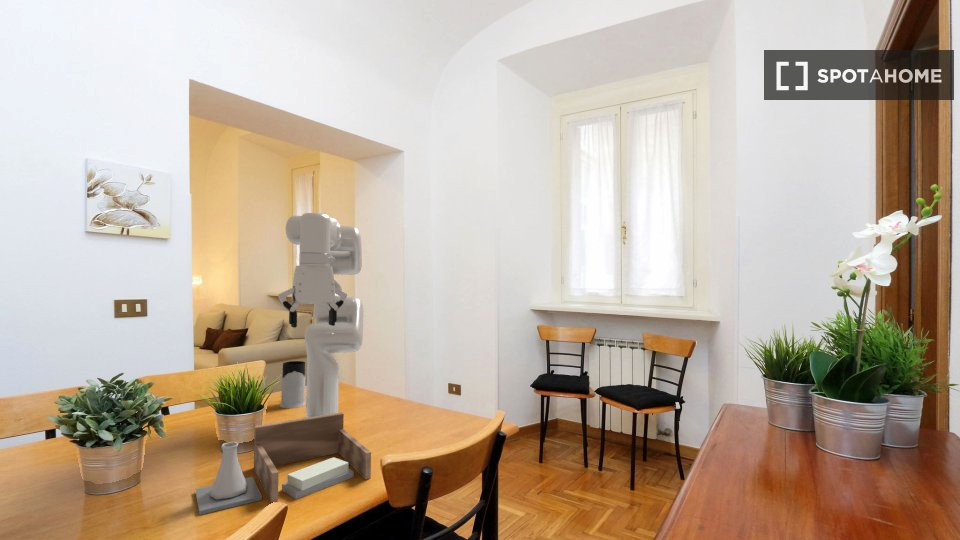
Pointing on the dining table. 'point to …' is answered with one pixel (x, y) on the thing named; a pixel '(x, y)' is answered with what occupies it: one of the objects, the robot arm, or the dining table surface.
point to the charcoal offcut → (299, 493)
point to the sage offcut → (317, 473)
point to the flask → (229, 474)
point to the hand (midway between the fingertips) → (313, 326)
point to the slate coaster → (211, 504)
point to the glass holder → (293, 385)
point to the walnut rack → (304, 447)
